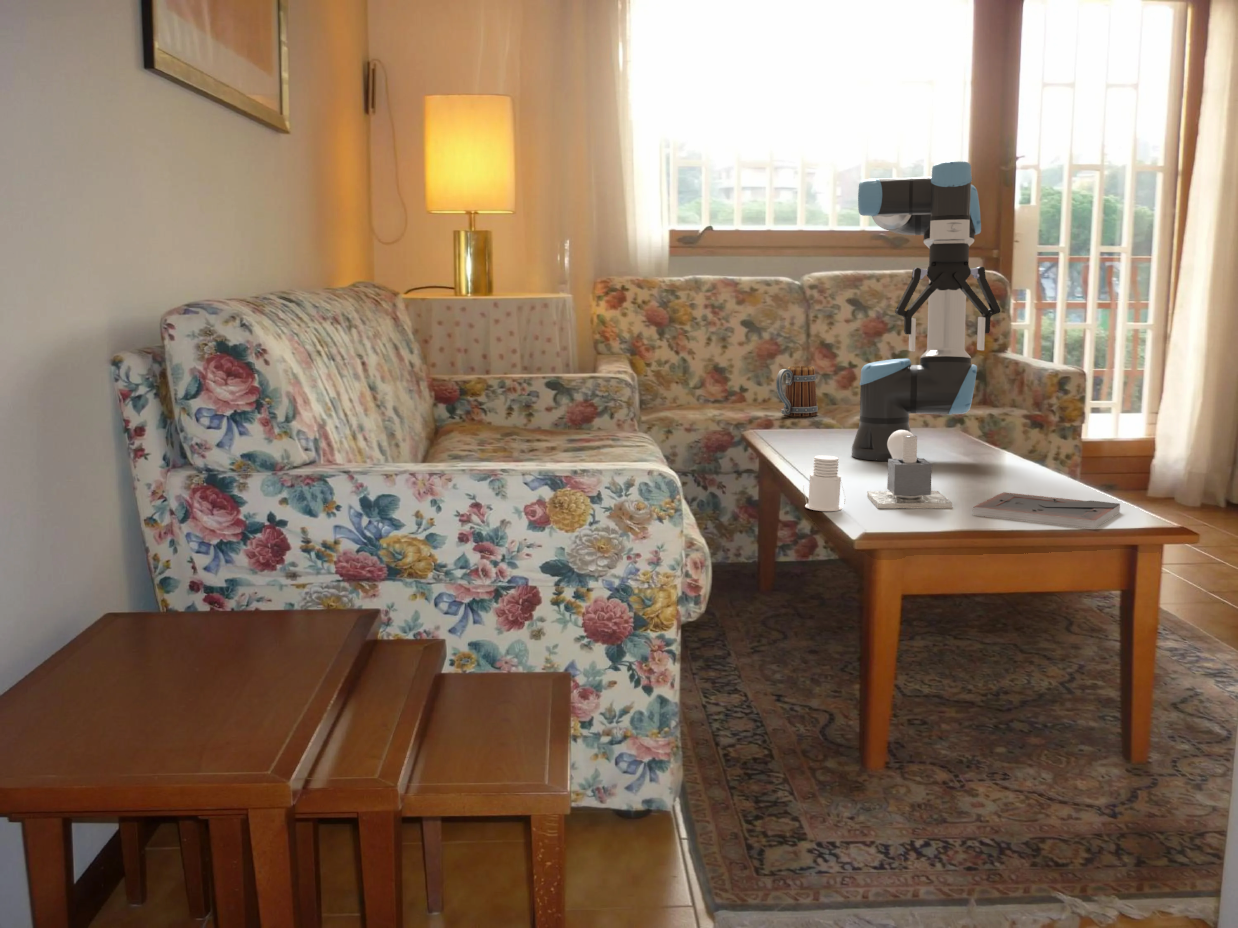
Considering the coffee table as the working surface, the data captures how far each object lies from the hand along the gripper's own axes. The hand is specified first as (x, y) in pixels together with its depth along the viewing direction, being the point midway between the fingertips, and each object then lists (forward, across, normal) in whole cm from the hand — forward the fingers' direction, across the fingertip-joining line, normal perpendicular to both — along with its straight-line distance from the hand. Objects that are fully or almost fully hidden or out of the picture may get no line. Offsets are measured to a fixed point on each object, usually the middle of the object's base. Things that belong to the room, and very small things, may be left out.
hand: (946, 350), depth 233 cm
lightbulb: (+29, -6, +12) cm, 32 cm away
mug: (+29, -17, +122) cm, 127 cm away
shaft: (+29, -9, -11) cm, 32 cm away
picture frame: (+30, +14, -22) cm, 40 cm away
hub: (+27, -9, -11) cm, 30 cm away
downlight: (+29, -26, -16) cm, 42 cm away
